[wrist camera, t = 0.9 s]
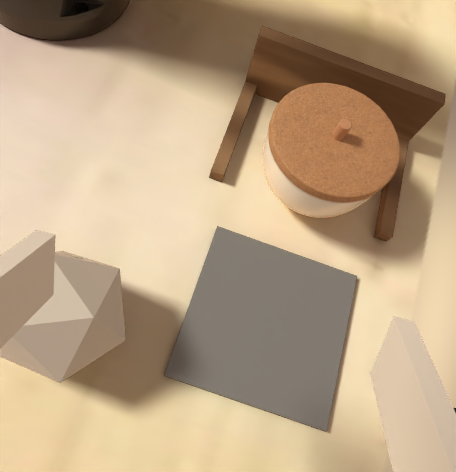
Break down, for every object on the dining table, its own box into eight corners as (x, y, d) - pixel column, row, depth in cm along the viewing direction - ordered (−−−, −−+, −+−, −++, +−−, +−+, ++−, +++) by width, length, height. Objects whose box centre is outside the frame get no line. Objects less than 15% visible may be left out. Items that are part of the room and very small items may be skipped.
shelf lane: (246, 80, 45) (262, 25, 38) (403, 138, 45) (445, 94, 39) (209, 177, 40) (220, 133, 33) (386, 241, 40) (430, 209, 34)
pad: (216, 227, 38) (217, 226, 38) (355, 277, 38) (357, 276, 38) (164, 375, 33) (164, 375, 33) (324, 431, 33) (326, 431, 33)
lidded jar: (232, 150, 41) (253, 82, 33) (328, 124, 44) (370, 56, 36) (278, 250, 38) (315, 204, 30) (378, 216, 41) (437, 165, 33)
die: (150, 340, 34) (142, 236, 29) (77, 429, 28) (50, 314, 23) (68, 310, 37) (47, 210, 32) (-18, 384, 30) (-61, 272, 25)
